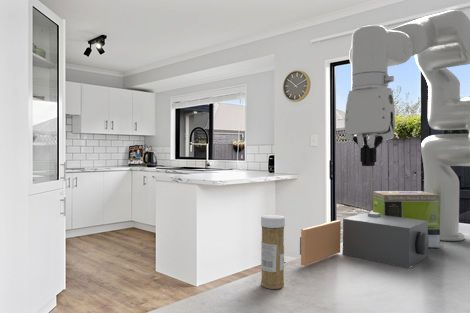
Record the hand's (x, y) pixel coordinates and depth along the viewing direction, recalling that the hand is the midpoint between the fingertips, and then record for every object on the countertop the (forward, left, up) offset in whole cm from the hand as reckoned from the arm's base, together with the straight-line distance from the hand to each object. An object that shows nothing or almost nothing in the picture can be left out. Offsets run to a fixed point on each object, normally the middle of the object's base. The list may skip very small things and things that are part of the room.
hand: (368, 165), depth 81 cm
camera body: (-12, -1, -23) cm, 26 cm away
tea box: (-29, -2, -23) cm, 37 cm away
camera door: (+3, -10, -22) cm, 25 cm away
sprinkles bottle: (+24, -8, -23) cm, 34 cm away
